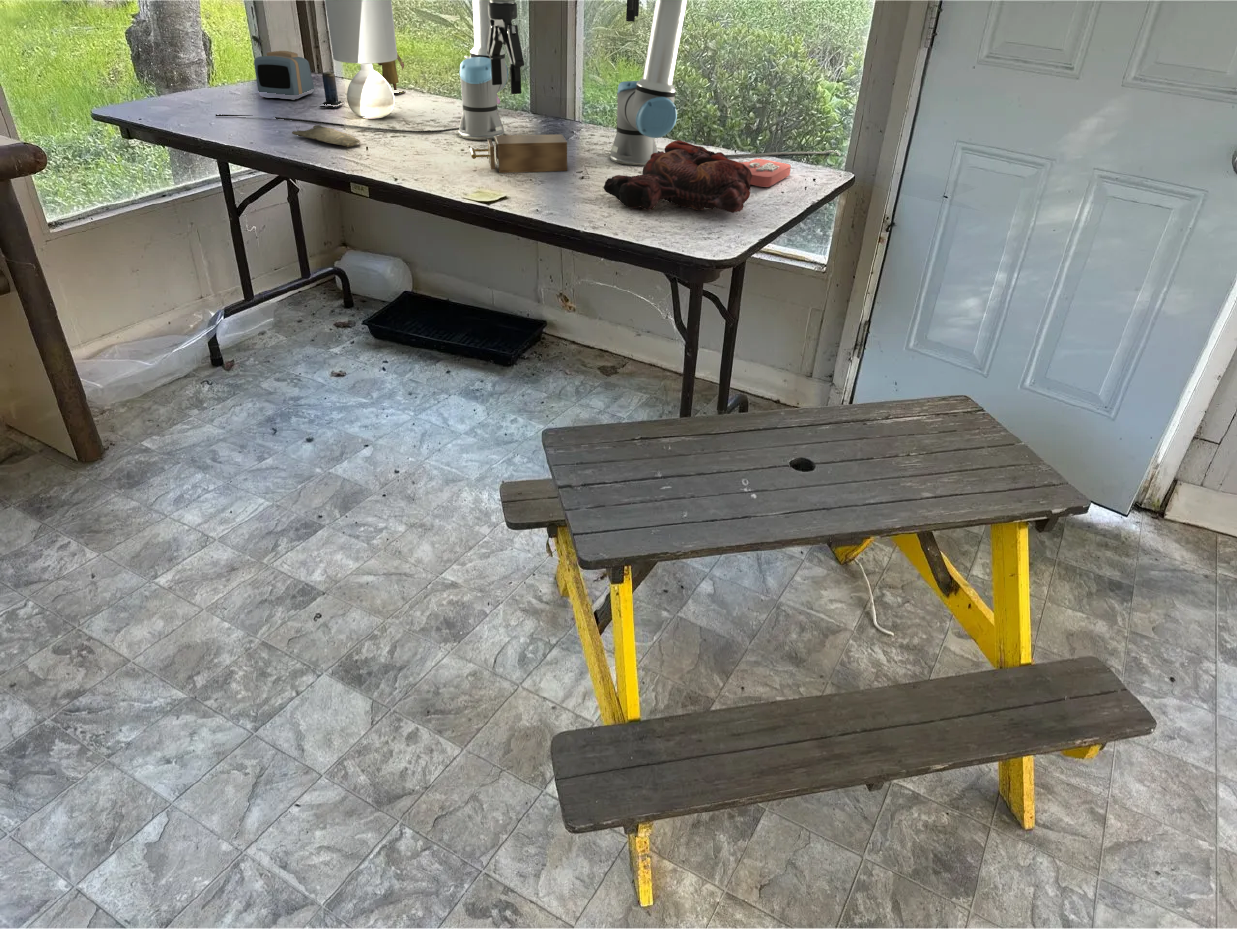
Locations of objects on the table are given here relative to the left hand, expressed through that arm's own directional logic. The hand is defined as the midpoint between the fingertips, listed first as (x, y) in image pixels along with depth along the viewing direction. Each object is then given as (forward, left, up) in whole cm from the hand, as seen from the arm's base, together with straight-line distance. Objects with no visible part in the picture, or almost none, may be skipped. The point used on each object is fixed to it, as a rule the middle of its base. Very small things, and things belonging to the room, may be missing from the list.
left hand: (632, 18), depth 276 cm
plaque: (+44, -46, -36) cm, 73 cm away
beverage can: (-113, +16, -36) cm, 120 cm away
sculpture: (+21, -77, -36) cm, 88 cm away
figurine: (-99, +45, -36) cm, 114 cm away
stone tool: (-95, -32, -36) cm, 107 cm away
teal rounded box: (-136, +29, -36) cm, 144 cm away
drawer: (-30, -51, -35) cm, 69 cm away
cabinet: (-25, -49, -36) cm, 65 cm away
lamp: (-93, +5, -36) cm, 100 cm away
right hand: (-28, -62, -12) cm, 70 cm away
